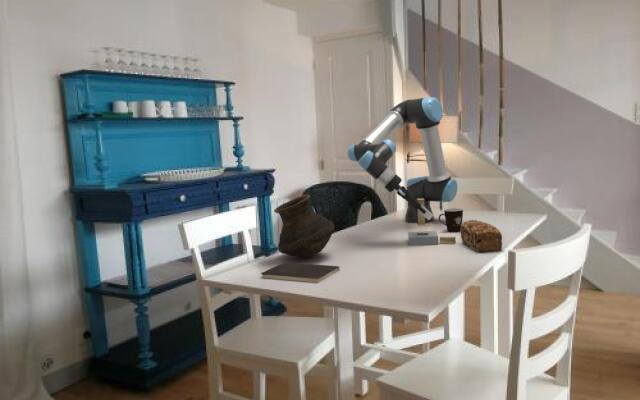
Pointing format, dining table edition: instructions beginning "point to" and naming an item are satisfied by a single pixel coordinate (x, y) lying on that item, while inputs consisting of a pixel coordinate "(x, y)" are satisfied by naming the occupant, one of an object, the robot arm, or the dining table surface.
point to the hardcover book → (300, 272)
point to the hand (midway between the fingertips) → (430, 217)
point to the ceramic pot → (302, 229)
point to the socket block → (423, 238)
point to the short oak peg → (447, 240)
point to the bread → (481, 236)
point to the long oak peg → (420, 217)
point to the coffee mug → (453, 219)
